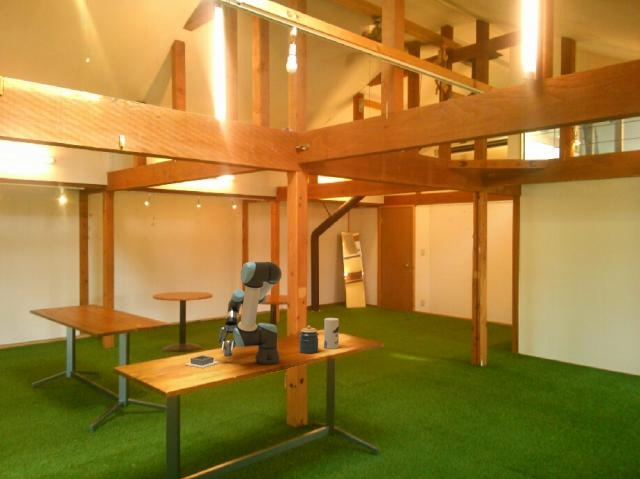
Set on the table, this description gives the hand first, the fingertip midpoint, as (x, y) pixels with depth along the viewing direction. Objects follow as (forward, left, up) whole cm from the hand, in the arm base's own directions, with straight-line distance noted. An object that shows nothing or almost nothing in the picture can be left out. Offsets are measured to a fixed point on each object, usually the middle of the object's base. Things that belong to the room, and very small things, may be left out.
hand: (227, 351), depth 287 cm
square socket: (+12, +8, -8) cm, 17 cm away
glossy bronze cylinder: (+2, -3, -3) cm, 5 cm away
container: (-33, -72, -8) cm, 79 cm away
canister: (-26, -53, -8) cm, 59 cm away
